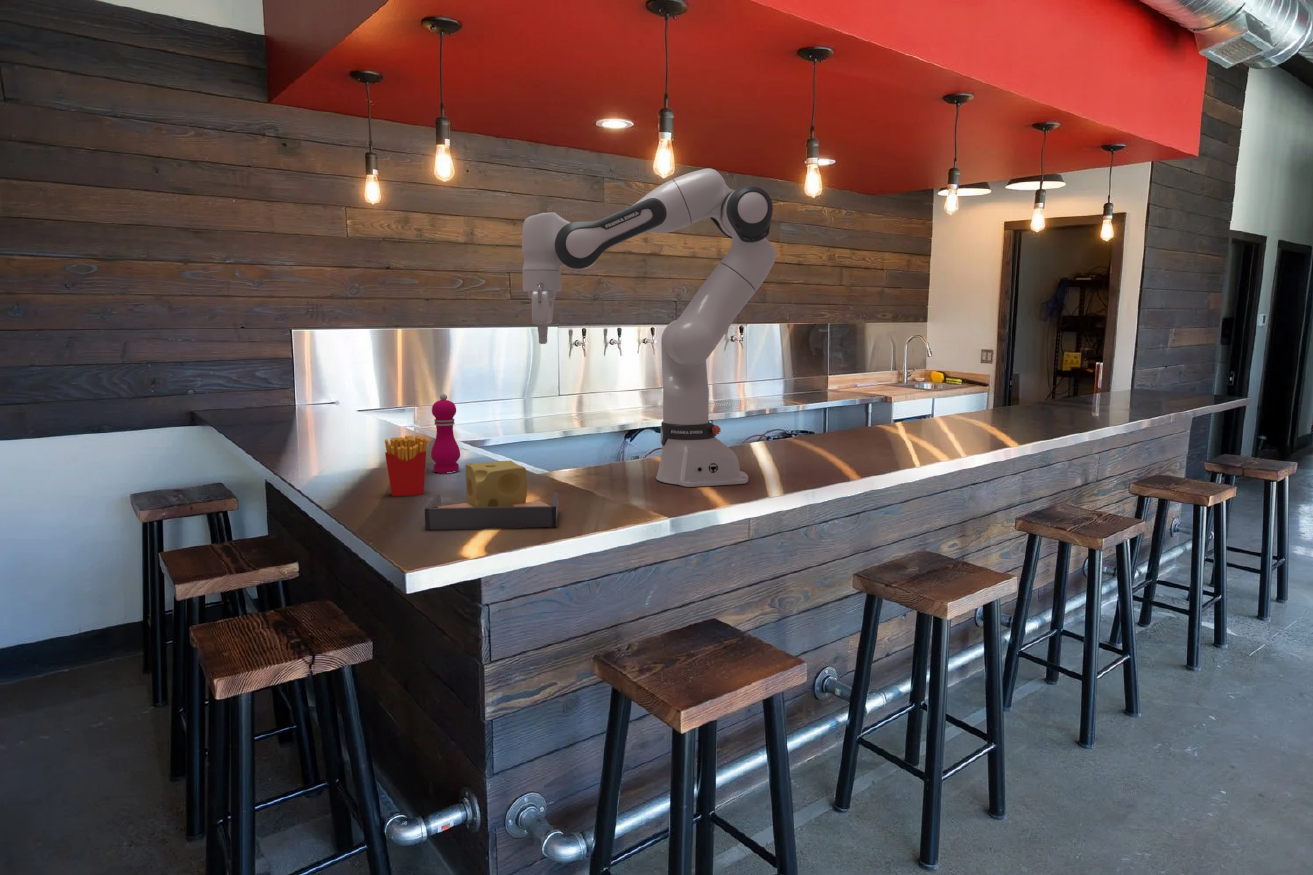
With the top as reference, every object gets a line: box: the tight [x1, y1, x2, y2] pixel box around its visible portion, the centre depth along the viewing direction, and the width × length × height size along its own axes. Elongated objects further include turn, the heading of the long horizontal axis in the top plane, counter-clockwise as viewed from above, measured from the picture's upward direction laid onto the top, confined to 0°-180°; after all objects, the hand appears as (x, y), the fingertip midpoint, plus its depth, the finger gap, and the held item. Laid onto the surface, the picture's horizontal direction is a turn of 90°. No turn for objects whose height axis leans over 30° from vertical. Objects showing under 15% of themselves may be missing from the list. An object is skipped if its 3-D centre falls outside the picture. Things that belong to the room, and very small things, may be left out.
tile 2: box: [512, 500, 551, 507], centre depth 157 cm, size 6×6×3 cm
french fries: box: [384, 435, 429, 497], centre depth 178 cm, size 9×4×13 cm, turn 111°
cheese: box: [465, 460, 528, 507], centre depth 162 cm, size 10×11×10 cm
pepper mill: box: [430, 393, 461, 474], centre depth 202 cm, size 7×7×20 cm
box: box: [424, 492, 560, 531], centre depth 156 cm, size 24×12×4 cm, turn 95°
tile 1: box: [437, 502, 473, 508], centre depth 155 cm, size 6×6×3 cm
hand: (543, 343), depth 187 cm, fingers closed
